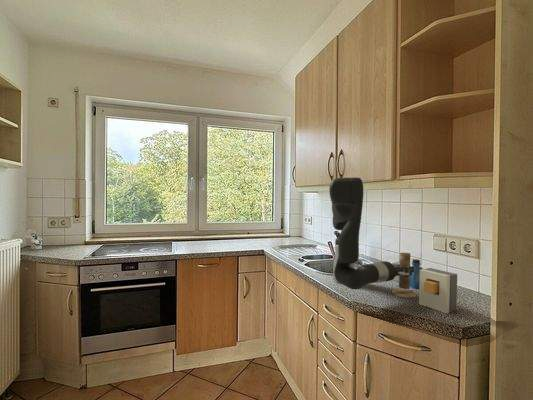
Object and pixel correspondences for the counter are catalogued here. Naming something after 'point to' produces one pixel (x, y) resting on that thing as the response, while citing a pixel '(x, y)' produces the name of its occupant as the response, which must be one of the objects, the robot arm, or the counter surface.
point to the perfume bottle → (415, 274)
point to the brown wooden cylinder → (405, 262)
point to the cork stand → (404, 293)
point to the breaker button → (431, 286)
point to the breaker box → (447, 290)
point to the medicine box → (396, 276)
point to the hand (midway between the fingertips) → (408, 268)
